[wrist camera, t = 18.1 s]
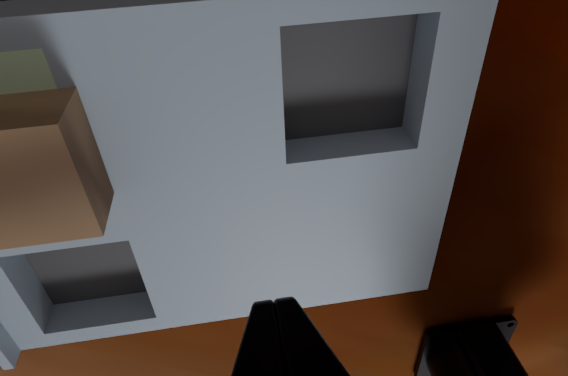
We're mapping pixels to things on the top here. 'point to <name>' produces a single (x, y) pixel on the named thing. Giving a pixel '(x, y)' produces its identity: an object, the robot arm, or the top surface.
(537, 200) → the top surface
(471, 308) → the top surface
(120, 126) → the board
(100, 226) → the brown flat block
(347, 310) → the top surface
